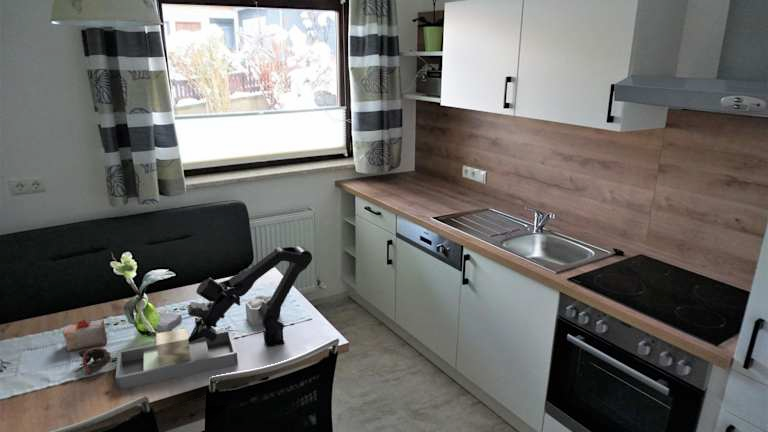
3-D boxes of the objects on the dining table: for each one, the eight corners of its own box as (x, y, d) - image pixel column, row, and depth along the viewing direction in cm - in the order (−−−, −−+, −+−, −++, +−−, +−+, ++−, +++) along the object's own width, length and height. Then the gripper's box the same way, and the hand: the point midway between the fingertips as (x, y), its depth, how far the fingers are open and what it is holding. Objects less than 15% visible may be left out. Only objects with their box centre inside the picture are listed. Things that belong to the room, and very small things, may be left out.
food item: (64, 354, 186) (59, 330, 183) (67, 343, 193) (62, 320, 190) (107, 345, 191) (103, 322, 188) (108, 335, 198) (104, 312, 195)
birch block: (189, 347, 185) (186, 327, 182) (190, 359, 178) (188, 338, 175) (159, 353, 181) (156, 333, 179) (159, 365, 174) (156, 345, 172)
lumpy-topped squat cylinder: (244, 316, 213) (243, 297, 211) (274, 308, 220) (273, 290, 217) (252, 327, 205) (251, 307, 202) (283, 318, 212) (282, 299, 209)
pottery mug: (120, 360, 183) (114, 348, 177) (103, 383, 177) (96, 373, 171) (89, 349, 184) (83, 337, 178) (71, 372, 178) (64, 361, 172)
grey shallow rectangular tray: (231, 340, 195) (230, 329, 194) (237, 364, 181) (236, 352, 179) (120, 362, 181) (118, 351, 180) (117, 390, 166) (115, 378, 165)
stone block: (145, 336, 201) (167, 334, 199) (142, 325, 200) (164, 323, 198) (163, 322, 212) (184, 320, 210) (160, 312, 211) (181, 310, 209)
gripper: (198, 284, 185) (169, 317, 184) (203, 307, 169) (171, 343, 168) (223, 300, 191) (194, 332, 190) (230, 323, 174) (198, 359, 173)
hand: (189, 341), depth 180 cm, fingers closed, pressing on birch block
